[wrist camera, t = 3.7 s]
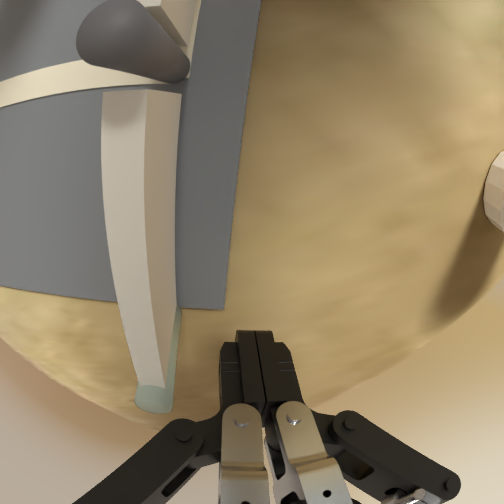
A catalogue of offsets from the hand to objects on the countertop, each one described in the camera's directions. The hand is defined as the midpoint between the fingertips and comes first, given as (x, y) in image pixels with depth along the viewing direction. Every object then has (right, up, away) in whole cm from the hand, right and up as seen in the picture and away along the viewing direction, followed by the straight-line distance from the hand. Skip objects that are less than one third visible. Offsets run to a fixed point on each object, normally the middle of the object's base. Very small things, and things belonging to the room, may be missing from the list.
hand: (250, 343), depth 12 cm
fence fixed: (-3, +16, -4) cm, 17 cm away
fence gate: (-4, +5, +2) cm, 7 cm away
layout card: (-11, +11, -1) cm, 16 cm away
